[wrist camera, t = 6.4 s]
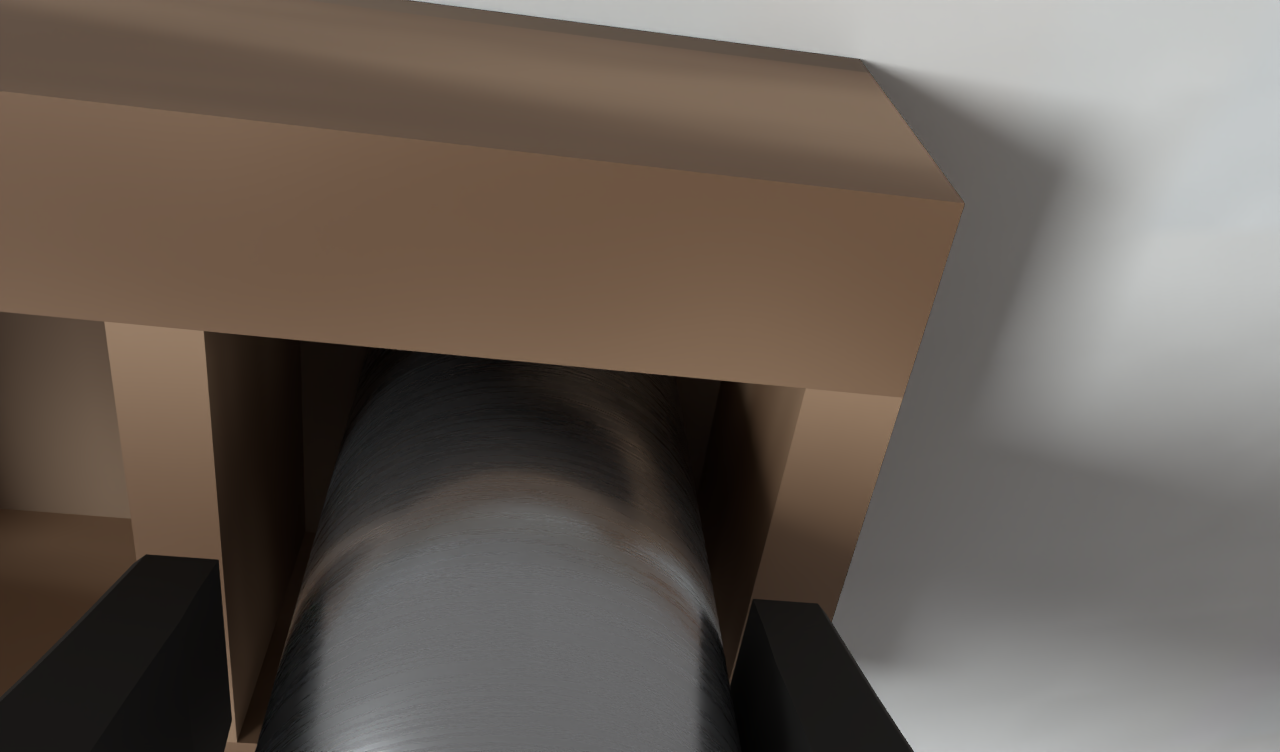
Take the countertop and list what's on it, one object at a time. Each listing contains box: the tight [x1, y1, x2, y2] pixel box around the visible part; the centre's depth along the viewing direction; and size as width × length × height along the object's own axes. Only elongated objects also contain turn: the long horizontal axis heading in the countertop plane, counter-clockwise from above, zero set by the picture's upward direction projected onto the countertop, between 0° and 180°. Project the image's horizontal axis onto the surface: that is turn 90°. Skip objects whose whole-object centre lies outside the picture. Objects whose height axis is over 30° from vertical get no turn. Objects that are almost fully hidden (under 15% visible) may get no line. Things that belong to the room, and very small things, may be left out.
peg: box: [255, 347, 742, 752], centre depth 11 cm, size 4×4×7 cm
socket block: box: [0, 0, 965, 752], centre depth 12 cm, size 9×13×4 cm
